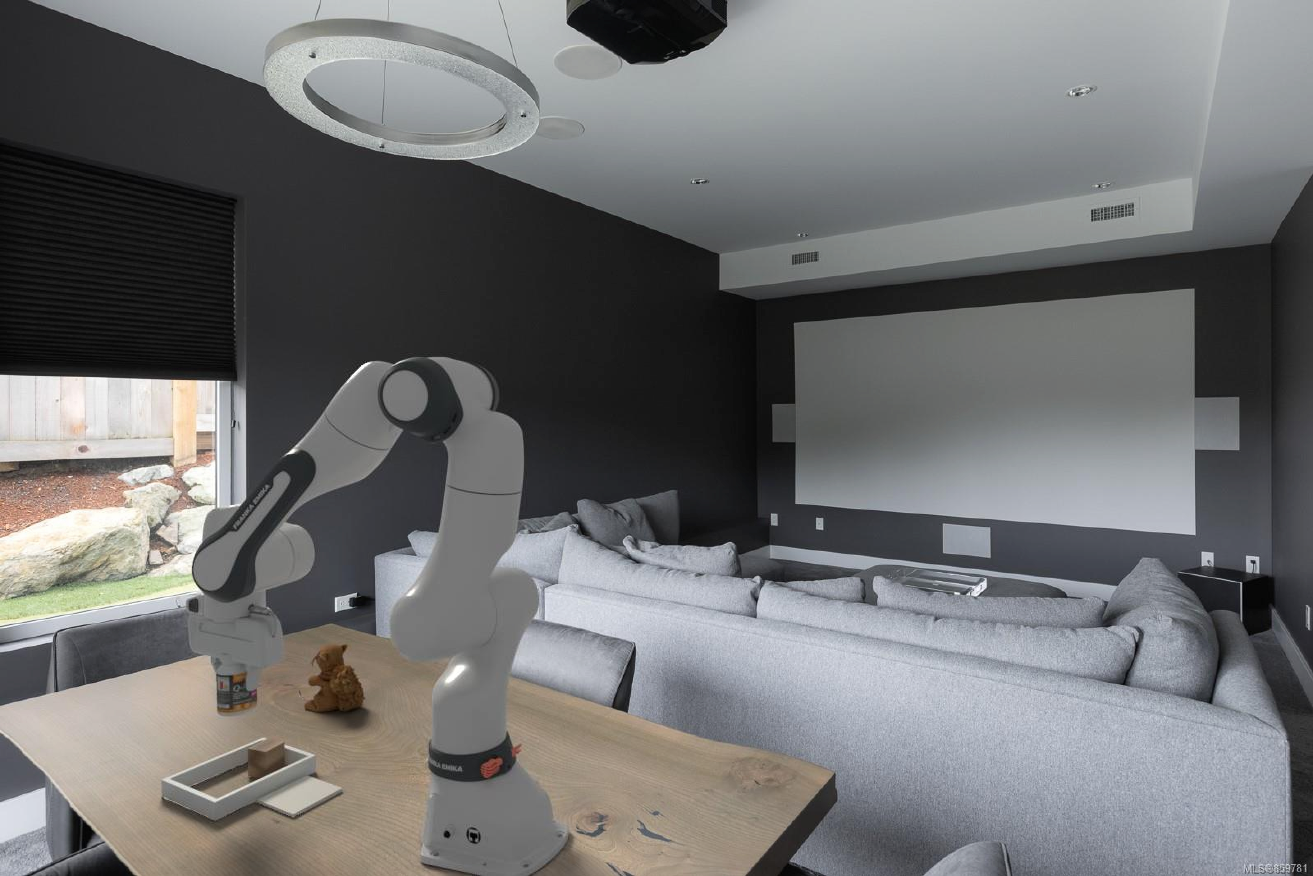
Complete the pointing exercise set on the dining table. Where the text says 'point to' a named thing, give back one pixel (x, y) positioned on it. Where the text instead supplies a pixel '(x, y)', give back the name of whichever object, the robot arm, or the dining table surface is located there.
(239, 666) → the pill bottle
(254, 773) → the walnut block
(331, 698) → the stuffed squirrel
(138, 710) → the dining table surface
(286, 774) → the tray frame
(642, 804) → the dining table surface
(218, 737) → the dining table surface
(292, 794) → the coaster
